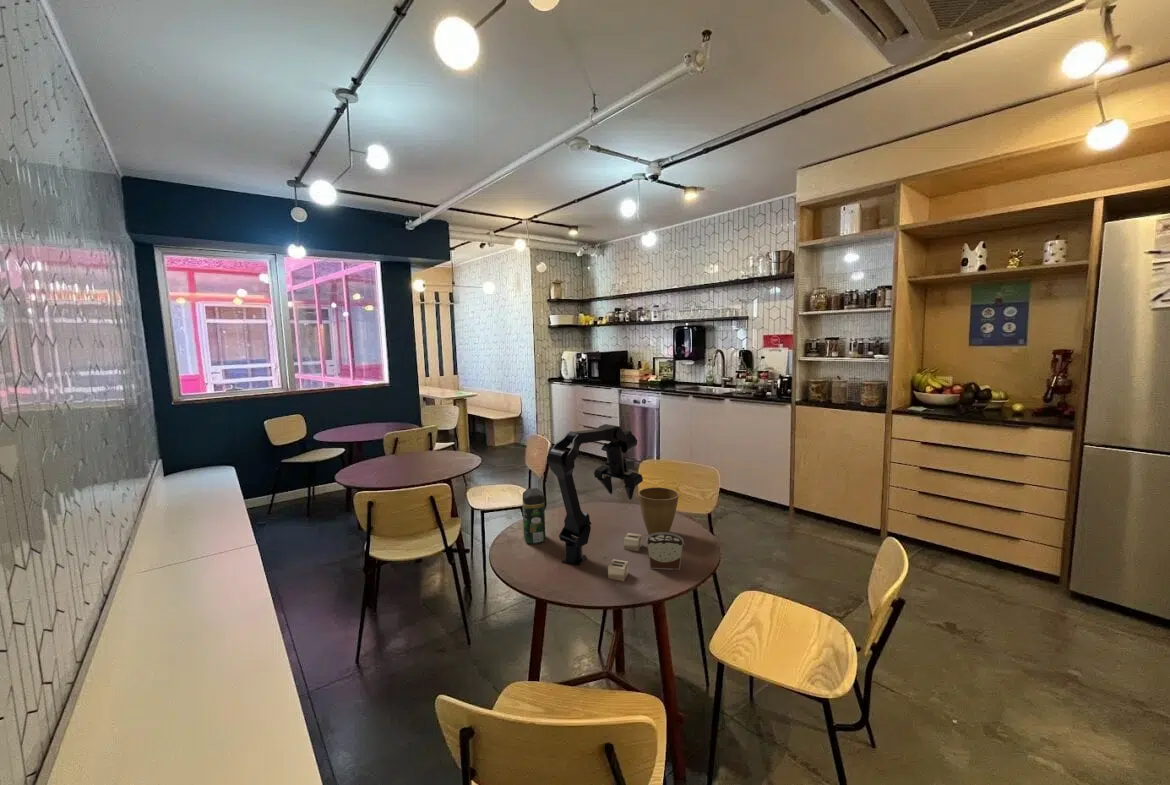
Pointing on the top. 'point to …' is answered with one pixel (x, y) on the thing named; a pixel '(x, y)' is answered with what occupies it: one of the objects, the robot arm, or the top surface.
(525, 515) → the coffee jar
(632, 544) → the numbered tile one
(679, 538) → the food container
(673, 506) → the plant pot
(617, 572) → the numbered tile two
